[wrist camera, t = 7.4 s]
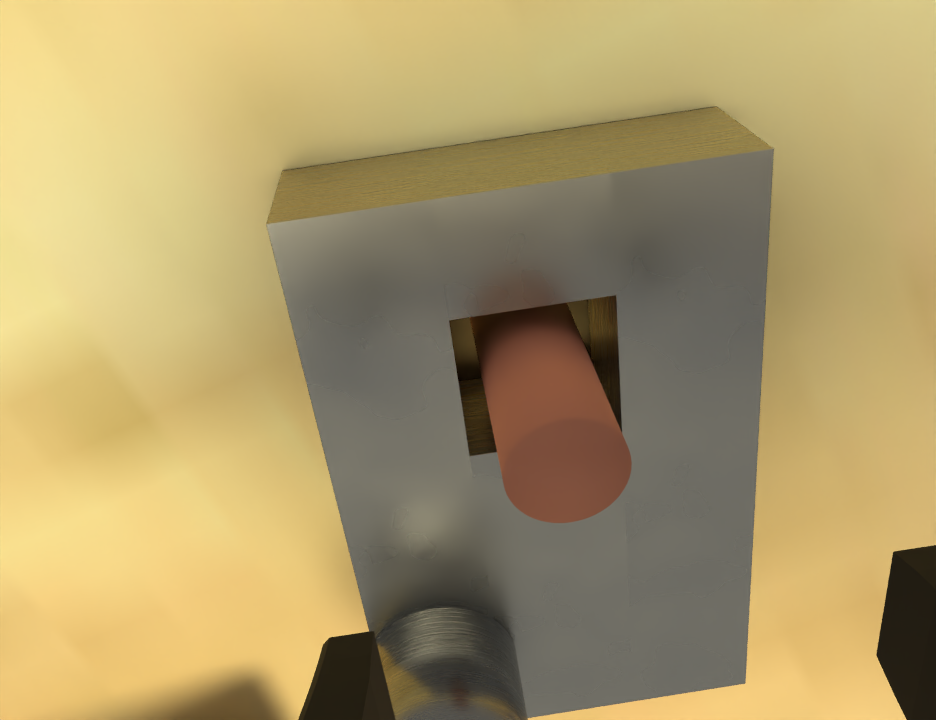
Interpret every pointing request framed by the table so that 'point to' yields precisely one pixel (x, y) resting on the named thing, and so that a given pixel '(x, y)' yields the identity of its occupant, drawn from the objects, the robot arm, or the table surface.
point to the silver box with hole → (468, 421)
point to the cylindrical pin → (549, 415)
